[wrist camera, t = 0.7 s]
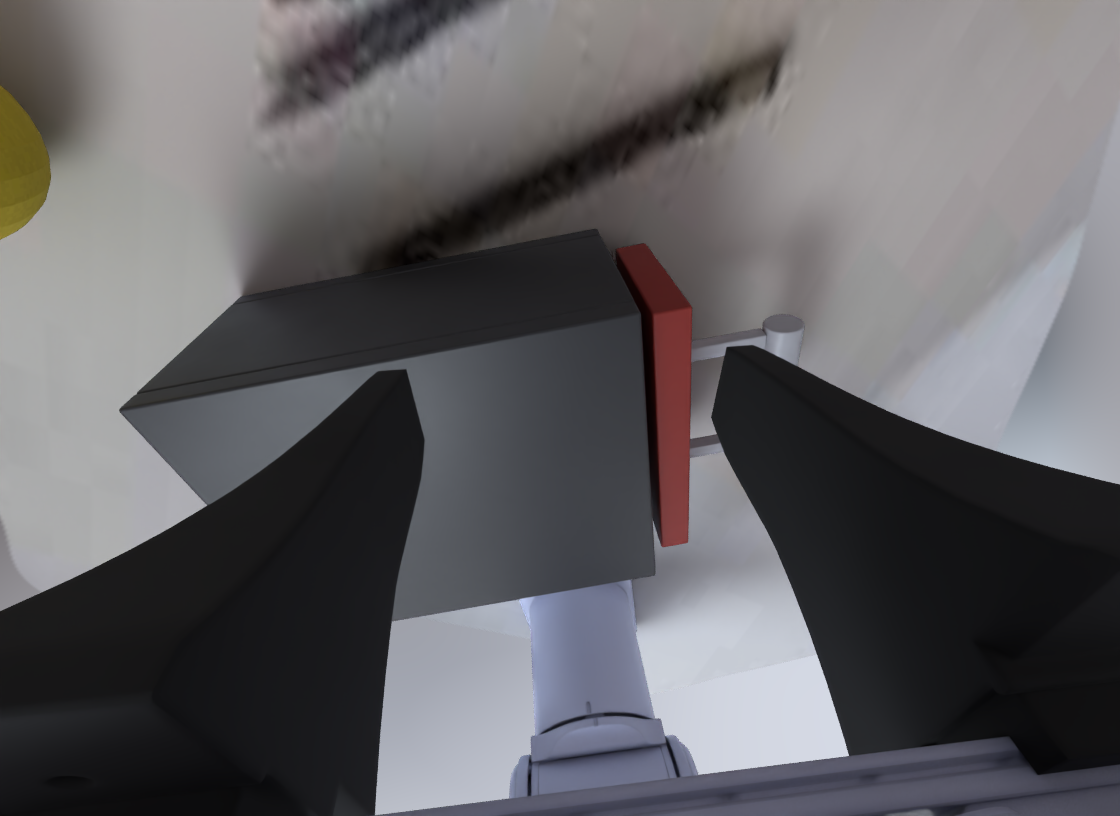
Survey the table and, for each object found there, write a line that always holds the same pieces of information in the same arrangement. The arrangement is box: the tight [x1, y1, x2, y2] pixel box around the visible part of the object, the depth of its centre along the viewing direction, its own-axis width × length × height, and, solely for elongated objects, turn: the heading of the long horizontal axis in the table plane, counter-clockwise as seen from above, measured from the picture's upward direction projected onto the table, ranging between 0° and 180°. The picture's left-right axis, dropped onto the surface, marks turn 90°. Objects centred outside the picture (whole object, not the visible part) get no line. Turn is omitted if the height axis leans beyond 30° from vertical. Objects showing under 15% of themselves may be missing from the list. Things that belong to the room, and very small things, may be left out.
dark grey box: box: [119, 229, 655, 621], centre depth 20 cm, size 15×13×8 cm
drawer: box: [616, 243, 805, 547], centre depth 19 cm, size 18×11×6 cm, turn 98°
